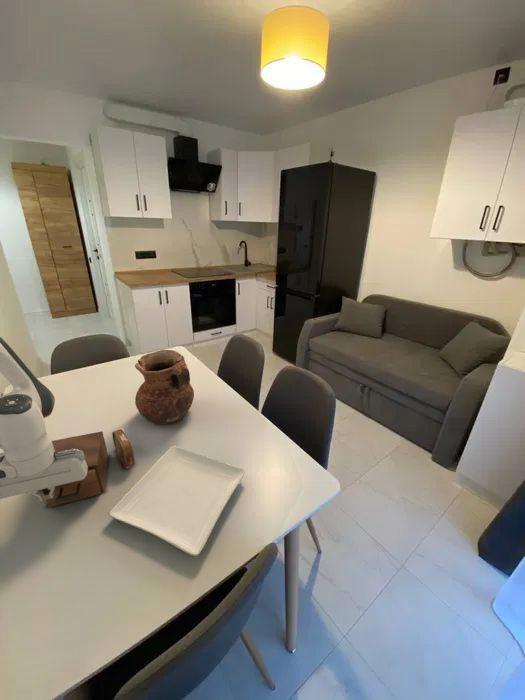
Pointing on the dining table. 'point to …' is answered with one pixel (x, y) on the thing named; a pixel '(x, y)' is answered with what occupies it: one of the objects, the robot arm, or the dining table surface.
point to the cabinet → (88, 452)
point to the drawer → (76, 489)
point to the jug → (164, 387)
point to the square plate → (180, 498)
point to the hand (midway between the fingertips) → (47, 497)
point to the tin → (123, 448)
